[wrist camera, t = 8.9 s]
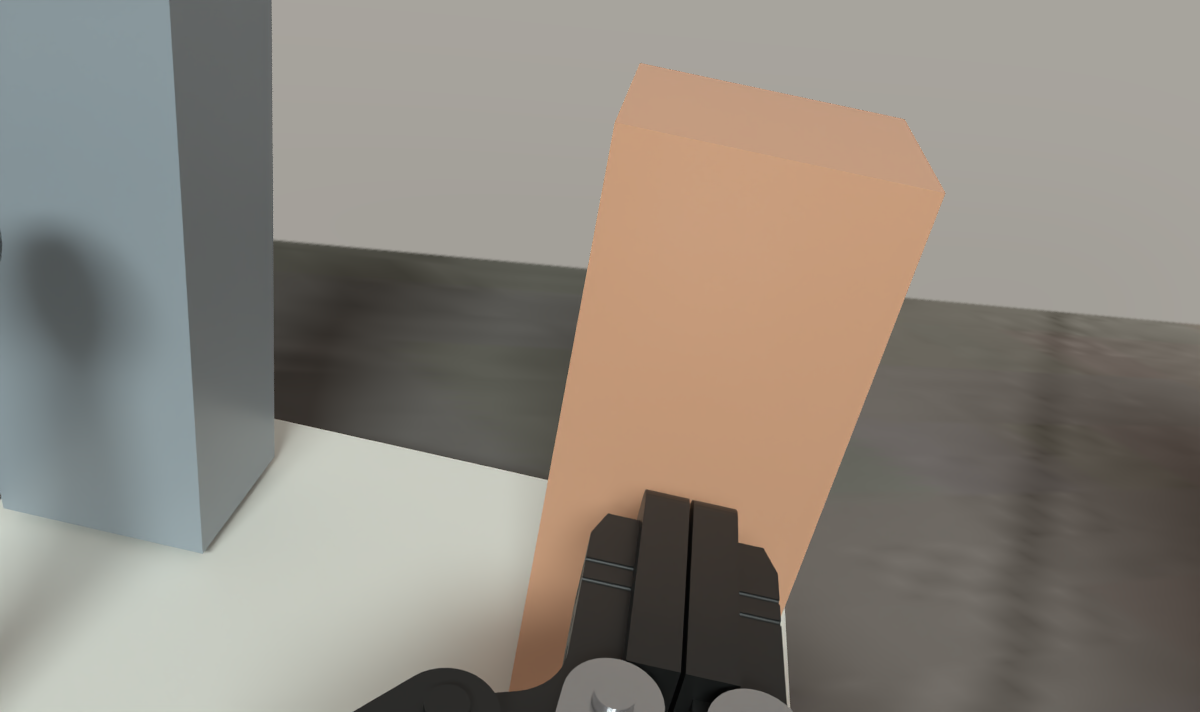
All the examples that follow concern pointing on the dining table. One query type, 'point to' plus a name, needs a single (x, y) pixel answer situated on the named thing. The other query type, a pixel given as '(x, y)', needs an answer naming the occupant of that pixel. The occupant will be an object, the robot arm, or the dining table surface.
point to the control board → (279, 589)
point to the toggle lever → (0, 246)
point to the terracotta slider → (725, 321)
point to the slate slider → (136, 262)
